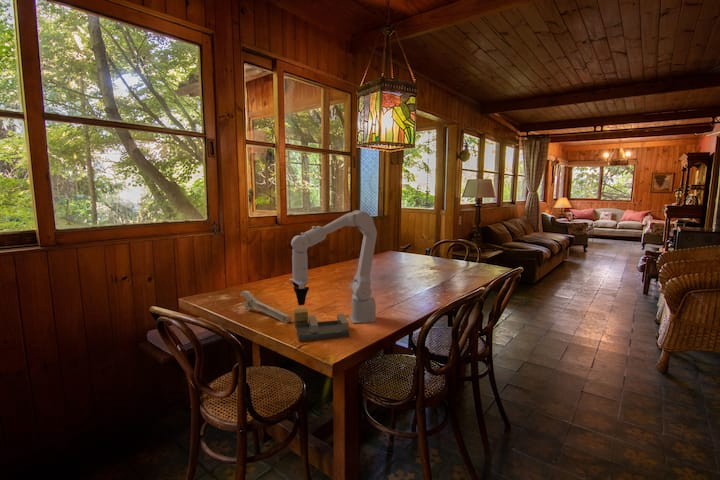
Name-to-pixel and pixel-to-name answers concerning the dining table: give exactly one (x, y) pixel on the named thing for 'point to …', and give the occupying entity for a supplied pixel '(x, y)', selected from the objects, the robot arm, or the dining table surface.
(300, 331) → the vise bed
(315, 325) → the bar
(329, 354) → the dining table surface
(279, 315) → the wrench
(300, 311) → the brass block
